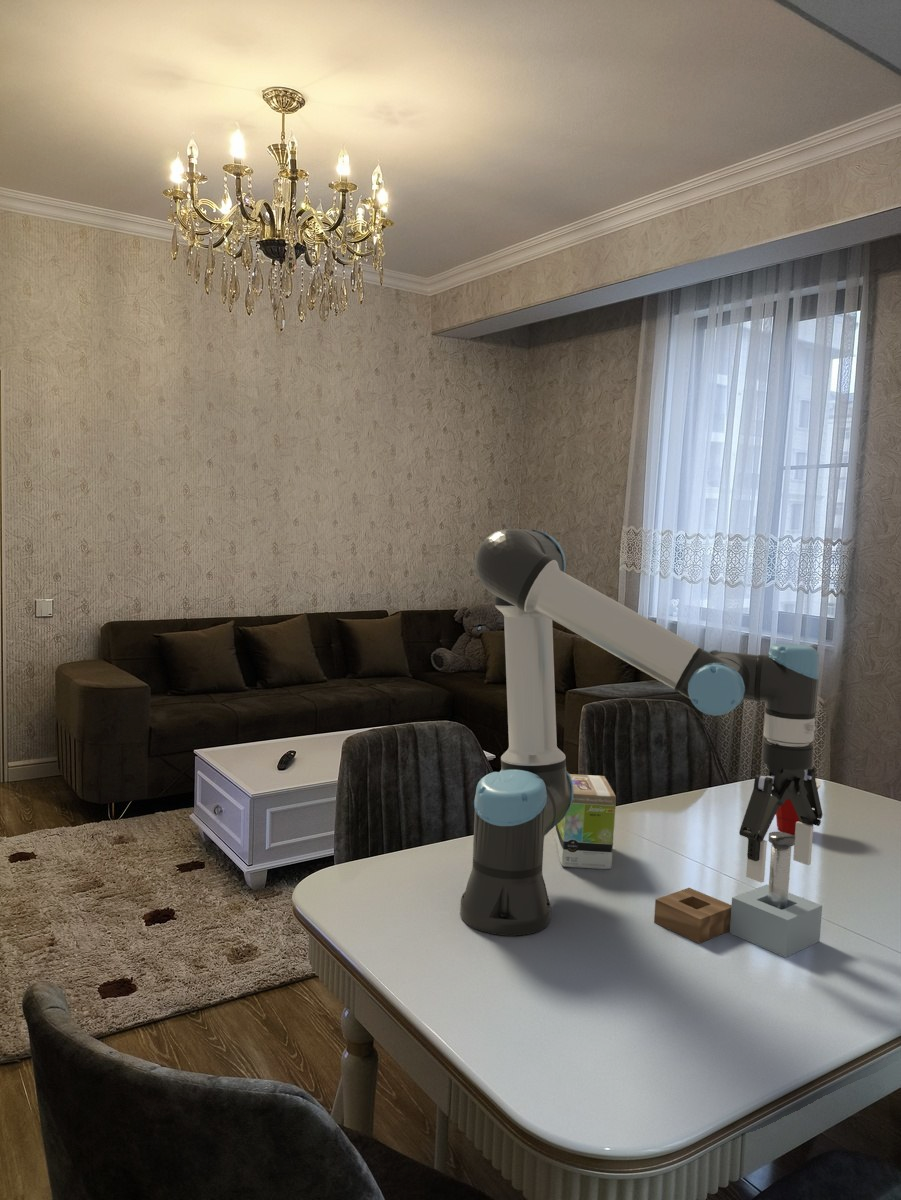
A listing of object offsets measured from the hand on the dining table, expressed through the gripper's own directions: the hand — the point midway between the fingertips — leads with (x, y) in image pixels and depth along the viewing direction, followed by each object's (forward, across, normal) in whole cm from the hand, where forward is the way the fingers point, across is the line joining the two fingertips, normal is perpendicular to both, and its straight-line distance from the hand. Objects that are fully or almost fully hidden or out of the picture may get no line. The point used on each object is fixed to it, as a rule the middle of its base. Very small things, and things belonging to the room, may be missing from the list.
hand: (779, 870), depth 144 cm
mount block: (+11, -8, +10) cm, 17 cm away
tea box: (+11, 0, +43) cm, 44 cm away
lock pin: (+11, 0, 0) cm, 11 cm away
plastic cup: (+11, +51, +28) cm, 59 cm away
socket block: (+11, 0, 0) cm, 11 cm away
